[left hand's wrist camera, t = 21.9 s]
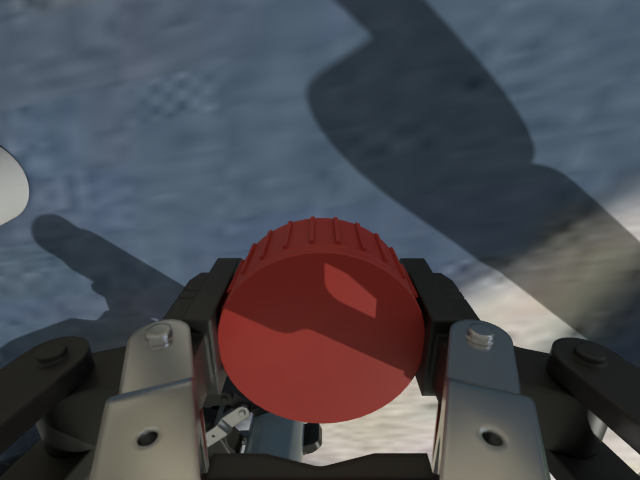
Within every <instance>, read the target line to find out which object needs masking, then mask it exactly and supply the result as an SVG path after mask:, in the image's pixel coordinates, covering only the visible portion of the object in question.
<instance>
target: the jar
mask: <svg viewBox="0 0 640 480" xmlns="http://www.w3.org/2000/svg"><path fill="white" fill-rule="evenodd" d="M304 425H305V422H299V421H295V420H290V419H287V418H284V417H281V416H278V415H275V414H273V413H271V412H269V413H265V414H262V415H259V416H256V417H255V416H254V415H253V414H252V419H251V423H250V428H249V433H248V437H247V442H246V446H245V451H244V453H266V454H270V455H274V456H278V457H282V458H286V459H290V460H294V461H297V462H301V463H302V461H303V443H304Z"/></svg>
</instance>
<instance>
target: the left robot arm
mask: <svg viewBox="0 0 640 480" xmlns="http://www.w3.org/2000/svg"><path fill="white" fill-rule="evenodd" d="M241 260H242V258H218V259H217V261H216V262H215V264H214V266H213V267H212V269H211V270H210V272H209V273H200V274H199V275H197V276H196V277H194V278H193V279H191V280H190V281H189V282H188V283H187V285H186V286H185V288H184V289H183V291H182V292H181V294H180V295H179V297H178V299H176V301H175V302H174V304H173V305H172V307H171V308H170V310H169V311H168V312H167V314H166V315H165V317H164V318H163V320H159V321H155V322H152V323H149V324H147V325H144V326H142V327H141V328H139V329H138V330H136V331H135V332H134V333H133V334H132V335H131V336H130V337H129V339H128V342H127V346H125V347H121V348H116V349H111V350H106V351H101V352H96V353H92V352H91V349H90V345H89V343H88V341H87V340H86V339H84V338H81V337H62V338H57V339H54V340H50V341H47V342H45V343H42V344H40V345H38V346H36V347H34V348H32V349H30V350H29V351H27V352H26V353H24V354H23V355H21V356H20V357H18V358H17V359H15V360H14V361H12V362H11V363H9V364H8V365H6V366H5V367H3V368H2V369H0V454H1V453H3V452H4V451H5V450H6V449H7V448H8V447H9V446H11V445H12V444H13V443H14V442H15V441H16V440H17V439H18V438H20V437H21V436H22V435H23V434H24V433H25V432H26V431H28V430H29V429H30V428H31V427H32V426H33V425H34V424H36V427H37V429H38V432H39V435H40V437H41V439H40V440H39V441H38V442H37V443H36V444H35V445H33V446H32V447H31V448H30V449H29V450H28V451H27V452H26V453H25V454H24V455H23V456H22V457H21V458H20V459H19V460H17V461H16V462H15V463H14V464H13V465H12V466H11V467H10V468H9V469H8V470H7V471H6V472H5V473H4V474H3V475H1V476H0V480H84V479H85V478H86V477H87V476H88V474H89V473H90V472H91V474H90V478H89V480H551V478H550V474H549V472H550V473H551V474H552V476H553V477H554V478H555V479H556V480H640V476H639V475H638V474H636V473H635V472H634V471H633V470H632V469H631V468H630V467H629V466H628V465H627V464H626V463H625V462H624V461H623V460H621V459H620V458H619V457H618V456H617V455H616V454H615V453H614V452H613V451H612V450H611V449H610V448H609V447H608V446H607V445H605V444H604V443H603V442H602V440H603V437H604V435H605V432H606V430H607V427H609V428H610V429H611V430H612V431H614V432H615V433H616V434H617V435H618V436H619V437H620V438H622V439H623V440H624V441H625V442H626V443H627V444H628V445H629V446H631V447H632V448H633V449H634V450H635V451H636V452H637V453H639V454H640V369H638V368H637V367H635V366H634V365H632V364H631V363H629V362H628V361H626V360H625V359H623V358H622V357H620V356H619V355H617V354H616V353H614V352H613V351H611V350H609V349H608V348H606V347H604V346H602V345H599V344H597V343H594V342H591V341H588V340H584V339H579V338H561V339H558V340H556V341H555V342H553V344H552V348H551V351H550V354H549V353H544V352H539V351H534V350H529V349H524V348H520V347H516V346H513V342H512V339H511V337H510V336H509V335H508V334H507V333H506V332H505V331H504V330H502V329H501V328H499V327H497V326H496V325H493V324H491V323H488V322H485V321H481V320H480V319H479V318H478V316H477V315H476V314H475V312H474V311H473V309H472V308H471V306H470V305H469V304H468V302H467V301H466V299H464V296H463V295H462V294H461V292H459V289H458V288H457V286H456V285H455V284H454V282H453V281H452V280H450V279H449V278H447V277H446V276H444V275H443V274H441V273H433V272H432V271H431V269H430V267H429V266H428V264H427V263H426V261H425V259H423V258H401V259H400V260H399V262H400V264H403V265H404V268H405V270H406V272H407V274H408V276H409V278H410V280H411V282H412V284H413V286H414V288H415V290H416V293H417V295H418V298H416V301H417V303H418V305H419V307H420V309H421V312H422V315H423V319H424V323H425V336H424V344H423V352H422V359H421V364H420V367H419V369H418V371H417V373H416V375H415V376H416V379H417V382H418V385H419V388H420V391H421V394H422V396H436V397H437V400H438V407H437V413H436V422H435V432H434V441H433V451H432V460H431V465H430V462H429V458H428V455H427V453H374V454H370V455H366V456H362V457H358V458H354V459H350V460H346V461H343V462H339V463H335V464H331V465H327V466H313V465H309V464H305V463H301V462H297V461H294V460H290V459H286V458H282V457H278V456H274V455H270V454H266V453H213V455H212V458H211V462H210V465H209V460H208V451H207V441H206V432H205V422H204V413H203V407H202V406H203V403H204V401H205V398H206V395H221V392H222V389H223V386H224V383H225V380H226V376H227V373H226V371H225V369H224V367H223V365H222V362H221V357H220V350H219V342H218V332H217V329H218V323H219V319H220V315H221V309H222V307H223V304H224V302H225V300H226V298H227V296H228V293H227V290H228V288H229V286H230V284H231V282H232V279H233V277H234V275H235V273H236V271H237V269H238V266H239V264H240V262H241Z"/></svg>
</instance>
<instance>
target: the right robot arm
mask: <svg viewBox="0 0 640 480" xmlns="http://www.w3.org/2000/svg"><path fill="white" fill-rule="evenodd" d="M206 406H207V407H206ZM202 407H203V413H204V422H205V432H206V441H207V451H208V460H209V465H210V462H211V458H212V455H213V453H241V449H242V445H246V442H247V437H248V433H249V430H244V431H239V430H237V429H236V428H235V427H234V426H235V425H237V424H238V423H240V422H242V421H243V420H245V419H246V418H248V417H249V415H250V412H252V413H253V415H254V416H255V417H256V416H259V415H262V414H265V413H269V412H268V411H266V410H264V409H263V408H261V407H259V406H258V405H256V404H255V403H253V402H252V401H251V400H249V399H248V398H247V397H245V396H244V395H243V394H242V393H241V392H240V391H239V390H238V389H237V387H236V386H235V385H234V384H233V382H232V381H231V380H230V378H229V376H228V375H227V376H226V380H225V383H224V386H223V389H222V392H221V395H206V398H205V401H204V403H203V406H202ZM321 444H322V428H321V427H320V425H319V423H307V424H305V425H304V443H303V455H305V454H309V453H313V452H314V451H316V450H317V449H318V448H319V447H320V446H321ZM24 454H25V453H23V454H19V455H16V456H13V457H10V458H7V459H4V460H1V461H0V476H1V475H3V474H4V473H5V472H6V471H7V470H8V469H9V468H10V467H11V466H12V465H13V464H14V463H15V462H16V461H17V460H19V459H20V458H21V457H22V456H23V455H24ZM90 474H91V472H90V473H89V474H88V476H87V477H86V478H85V479H84V480H89V478H90Z"/></svg>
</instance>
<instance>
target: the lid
mask: <svg viewBox="0 0 640 480" xmlns="http://www.w3.org/2000/svg"><path fill="white" fill-rule="evenodd" d="M227 293H228V296H227V298H226V300H225V302H224V304H223V307H222V309H221V315H220V319H219V323H218V329H217V332H218V342H219V350H220V357H221V362H222V365H223V367H224V369H225V371H226V373H227V375H228V376H229V378H230V380H231V381H232V382H233V384H234V385H235V386H236V387H237V389H238V390H239V391H240V392H241V393H242V394H243V395H244V396H245V397H247V398H248V399H249V400H251V401H252V402H253V403H255V404H256V405H258V406H259V407H261V408H263V409H264V410H266V411H268V412H271V413H273V414H275V415H278V416H281V417H284V418H287V419H290V420H295V421H299V422H307V423H337V422H342V421H348V420H352V419H356V418H359V417H362V416H365V415H367V414H370V413H372V412H374V411H376V410H378V409H380V408H382V407H383V406H385V405H386V404H388V403H389V402H391V401H392V400H393V399H395V398H396V397H397V396H398V395H399V394H401V392H402V391H403V390H404V389H405V388H406V387H407V386H408V385H409V383H410V382H411V381H412V379H413V378H414V376H415V375H416V373H417V371H418V369H419V367H420V364H421V359H422V352H423V344H424V336H425V323H424V319H423V315H422V312H421V309H420V307H419V305H418V303H417V301H416V298H418V295H417V293H416V290H415V288H414V286H413V284H412V282H411V280H410V278H409V276H408V274H407V272H406V270H405V268H404V265H403V264H400V262H399V260H398V258H397V255H396V253H395V251H394V249H393V248H392V247H390V248H389V247H388V246H387V245H386V244H385V243H384V242H383V241H382V240H381V239H380V237H379V235H378V234H377V233H375V234H373V233H371V232H370V231H368V230H366V229H365V228H363V227H360V224H359V223H355V224H353V223H350V222H346V221H343V220H338V218H337V217H334V218H333V219H331V218H315V217H311V218H310V219H305V220H300V221H296V222H292V221H289V222H288V224H287V225H284V226H282V227H280V228H278V229H276V230H274V231H272V230H270V231H268V234H267V236H265V237H264V238H263V239H262V240H261V241H260V242H258V243H257V244H255V243H254V244H253V245H252V247H251V249H250V251H249V254H248V256H247V257H246V259H245V260H243V259H242V260H241V262H240V264H239V266H238V269H237V271H236V273H235V275H234V277H233V279H232V282H231V284H230V286H229V288H228V290H227Z"/></svg>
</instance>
